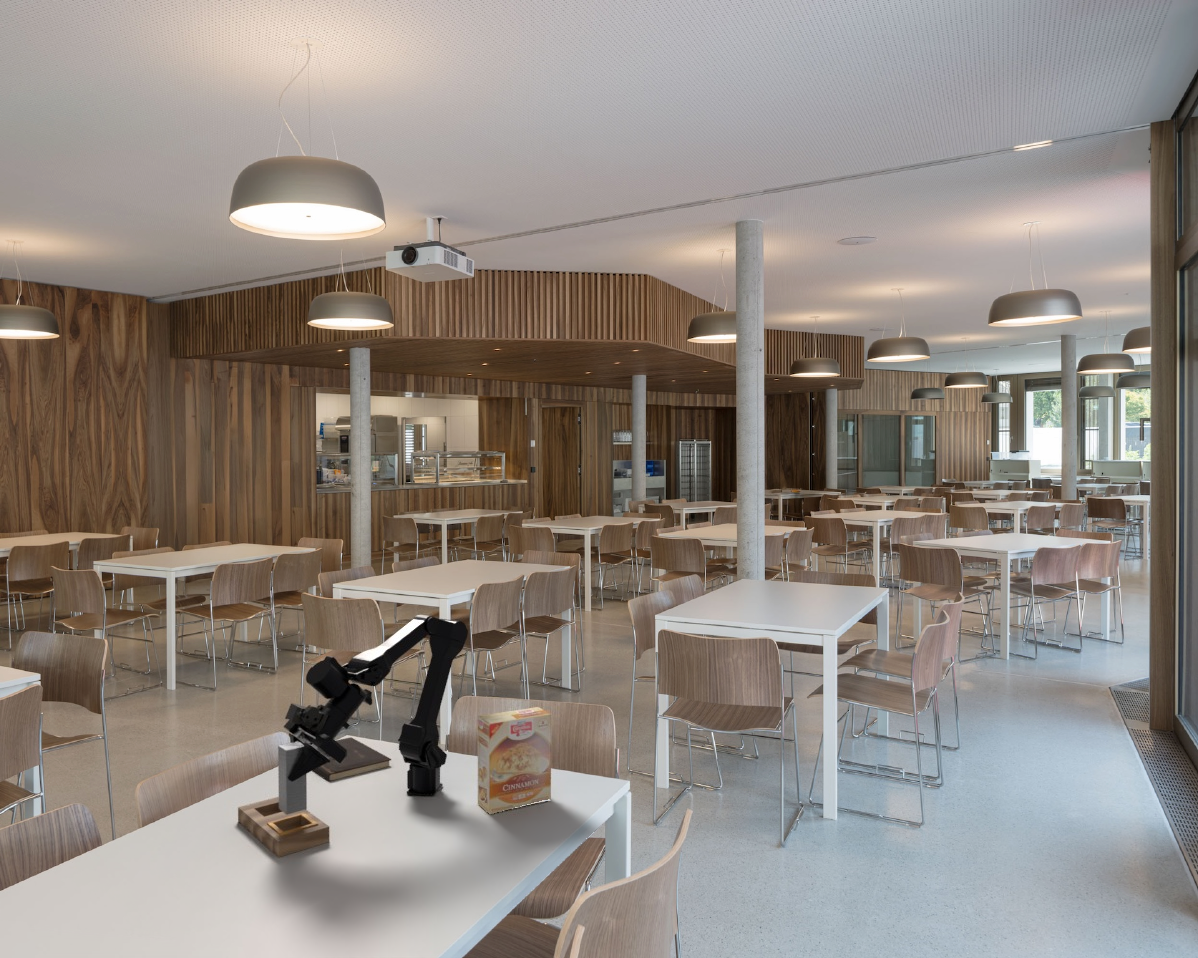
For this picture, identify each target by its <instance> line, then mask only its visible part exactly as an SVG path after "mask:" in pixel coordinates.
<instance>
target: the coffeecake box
mask: <svg viewBox="0 0 1198 958" xmlns="http://www.w3.org/2000/svg"><path fill="white" fill-rule="evenodd" d="M548 799H551V800H552V713H550V712H549V711H547V710H545V709H543V708H541V707H540V706H535V707H529V708H522V709H515V710H510V711H509V710H508V711H502V712H496V713H489V714H483V715H477V805H478V804H479V806H480V807H481V808H482V809H483V810H484V811H485V810H486V811H485V812H486V813H487V812H488V813H489V814H490V815H494V813H495V814H498V813H497V812H499V813H502V811H503V810H508V809H512V808H515V807H520V806H522V805H527V804H531V803H534V802H539V801H542V800H548ZM512 810H513V809H512ZM508 811H509V810H508ZM503 812H504V811H503ZM488 813H487V814H488ZM489 814H488V815H489Z"/></svg>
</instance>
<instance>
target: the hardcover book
mask: <svg viewBox="0 0 1198 958" xmlns="http://www.w3.org/2000/svg"><path fill="white" fill-rule="evenodd" d="M335 741H336V742H338V743H339V744H340V745H341V746H343V747H344V748H345V749H346V750H347V757H346V758H345V760H344V761H343V762H342V764H341V765H340V764H339V763H337V762H335V761H334V760H333V758H331V757H330V758H329V760H330V761H331V762H330V763H326V764H324V765H322V766H320V767H318V768H316V769H314V770H312V771H313V772H314V773H316V774H317V773H318V774H317V775H319V776H320V775H321V776H320V777H322V778H323V777H324V778H323V779H324V780H326V779H327V780H326V781H328V782H330V780H331V781H334V780H339V779H342V778H347V777H349V776H350V777H351V776H354V775H358V774H362V773H363V774H364V773H366V772H370V771H374V770H378V769H379V770H380V769H383V768H387V767H389V766H390V761H392V758H390V757H388V756H386V755H385V754H383V753H381V752H379V751H377V750H376V749H373V748H372V747H370V746H368V745H367V744H364V743H363V742H361V741H359V740H357V739H356V738H353V737H351V736H350V737H345V738H342V739H337V740H335Z"/></svg>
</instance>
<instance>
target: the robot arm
mask: <svg viewBox="0 0 1198 958" xmlns="http://www.w3.org/2000/svg"><path fill="white" fill-rule="evenodd" d="M468 635H469V630H468V628H467V625H466V624H465V622H463V621H461V620H454V619H445V618H437V617H435V616H433V615H429V614H417V615H415V616H414V617H412V620H411V621H410V622H408V623H407V624H405V626H403V627H402V628H401V629H399V630H398V631H396V633H394V634H393V635H391V636H390V637H389V638H387V639H386V640H385V641H384V642H382V644H380V645H379V646H375V647H373V648H371V649H368V650H364V651H362V652H361V653H358V654H357V655H355V656H353V657H352V658H351V659H350V660H349V661H348V662H346V663H345V664H342V665H341V664H340V663H339V662H338V660H337V659H336V658H335V656H329V655H326V656H325V658H324V659H323V660H320V661H318V662H316V663H315V664H314V665H313V666H311V667H310V668H309V669H308V671H307V672H306V675H305V681H306V683H307V684H308V685H309V686H310V687H311V688H313V690H315V691H316V692H317V693H318V694H319V695H321V696H322V698H324V699H327V700H328V701H327V702H326V703H325V704H324V705H323V704H318V705H317V706H313V705H307V706H303V705H301V704H300V705H299V704H296V703H292V702H291V703H290V706H289V708H288V710H287V713H286V715H285V718H284V719H285V720H288V721H287V722H286V723H285V724H284V725H283V728H284V729H285V730H287V731H288V737H289V741H290V742H289V743H293V742H297V741H298V742H300V743H302V744H304V754H303V755H302V757H301V758H300V760H299V761H298V763H297V765H296V766H295V768H294V769H293V771H292V772H291V774H290V776H289V777H288V779H289V780H290V781H291V782H293V781H295V780H296V779H298V778H300V777H302V776H303V775H305V774H306V775H308V774H309V773H310V772H312V771H313V770H314V769H316V768H318V767H320V766H322V765H324V764H326V763H330V762H331V761H330V760H329V758H330V757H331V758H333V760H334V761H335V762H337V763H339V764H340V765H341V764H342V762H343V761H344V760H345V758H346V757H347V750H346V749H345V748H344V747H343V746H341V745H340V744H339V743H338V742H336V740H335V738H336V737H337V736H338V735H339V733H340V732H341V730H342V729H346V730H347V729H348V728H349V727H350V724H349V723H348V722H349V721H350V719H351V718H352V716H354V714H355V713H356V711H357V710H358V709H359V707H361V705H362V704H363V703H365V704H367V705H368V706H372V705H373V695H372V693H373V692H372V691H371V690H369V689H367V688H365V689H363V688H362V687H361V686H360V685H365V686H370V687H376V686H379V685H380V684H381V683H382V682H383V681H384V679H385V678H386V677H387V676H388V675H389V674H390V672H391V671H392V667H393V665H394V664H395V663H396V662H397V661H398V660H399V659H400V658H401V657H403V656H404V655H405V654H406V653H408V652H409V651H410V650H412V648H414V647H415V646H416V645H417V644H418V643H420V642H422V641H423V640H424V639H425V638H426V637H427V636H429V648H430V652H431V658H430V661H429V665H428V669H427V673H426V676H425V679H424V683H423V687H422V690H421V695H420V698H419V700H418V701H419V702H418V706H417V708H416V713H415V716H414V718H413V719H412V720H411V721H410V722H409V723H406V722H404V723H403V725H402V728H401V733H400V736H399V738H398V739H397V741H398V742H399V744H398V750H399V752H400V754H401V756H402V758H403V761H404V762H403V763H406V764H409V766H408V767H409V769H408V770H407V771H406V772H407V773H406V776H407V778H406V779H407V780H406V788H407V791H406V794H407V795H409V796H413V795H414V796H426V797H427V796H428V797H429V796H430V797H433V796H436V795H437V793H438V792H439V790H440V789H441V788H442V787H443V785H444V784H443V783H442V782H441V768H442V766H444V765H446V761H447V757H448V755H447V753H446V752H445V751H444V750H443V749H442V748H441V747H440V746H439V741H440V733H439V729H438V725H437V721H438V717H439V713H440V710H441V706H442V703H443V698H444V693H445V690H446V687H447V683H448V679H449V676H450V672H451V668H452V665H453V662H454V659H456V657H457V656H458V655H459V654H460V653H461V652H462V651H463V649H464V646H465V643H466V641H467V638H468ZM350 682H352V683H350Z"/></svg>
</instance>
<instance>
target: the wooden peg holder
mask: <svg viewBox="0 0 1198 958" xmlns="http://www.w3.org/2000/svg"><path fill="white" fill-rule="evenodd" d="M237 817H238V820H237V822H238V823H239V822H240V823H239V824H240V825H241V826H243V827H244V829H246V828H247V829H246V830H247V831H248V830H249V831H250V832H249V833H250V834H251V835H253V836H254V837H255V838H256V839H257V838H258V839H259V840H258V839H257V840H258V841H259V842H261V843H262V844H263V845H264V846H265V847H266V848H268V850H270V851H271V852H272V853H273V855H275V856H277V858H280V857H284V856H286V855H287V856H288V855H291V854H295V853H297V852H300V851H304V850H307V849H311V848H314V847H317V846H320V845H323V844H327V843H330V826H329V825H328V824H326V823H325V822H324V821H322V820H321V819H320V818H319V817H318V816H316V815H314V814H313V813H311V812H310V811H309V810H307V809H306V810H302V811H298V812H295V813H291V814H288V815H286V814H285V813H284V812H282V811H281V810H280V809H279V796H276V797H272V798H268V799H263V800H261V801H257V802H252V803H249V804H245V805H240V806H238V807H237Z"/></svg>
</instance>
